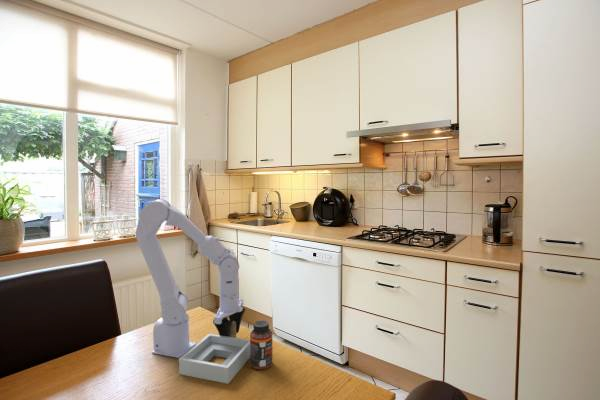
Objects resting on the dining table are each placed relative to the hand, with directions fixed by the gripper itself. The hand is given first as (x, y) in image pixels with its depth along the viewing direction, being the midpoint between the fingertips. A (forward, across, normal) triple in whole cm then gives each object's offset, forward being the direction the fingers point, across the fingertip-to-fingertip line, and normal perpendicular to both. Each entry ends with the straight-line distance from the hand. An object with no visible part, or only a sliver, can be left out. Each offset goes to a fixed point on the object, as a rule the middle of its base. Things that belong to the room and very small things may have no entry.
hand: (230, 336), depth 99 cm
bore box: (+2, -11, -2) cm, 11 cm away
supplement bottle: (+2, -8, -14) cm, 16 cm away
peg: (+2, 0, 0) cm, 2 cm away
